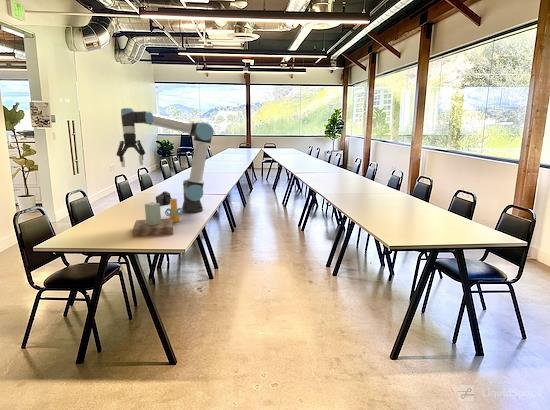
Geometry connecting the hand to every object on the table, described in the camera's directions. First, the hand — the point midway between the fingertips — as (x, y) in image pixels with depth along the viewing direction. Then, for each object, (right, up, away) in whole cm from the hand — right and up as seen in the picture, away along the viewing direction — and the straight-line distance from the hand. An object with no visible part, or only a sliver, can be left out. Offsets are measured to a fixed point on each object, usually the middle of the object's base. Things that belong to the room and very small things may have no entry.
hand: (132, 166), depth 251 cm
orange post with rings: (+27, -37, +1) cm, 46 cm away
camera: (+5, -25, +57) cm, 62 cm away
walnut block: (+21, -41, -21) cm, 51 cm away
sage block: (+21, -37, -22) cm, 48 cm away
